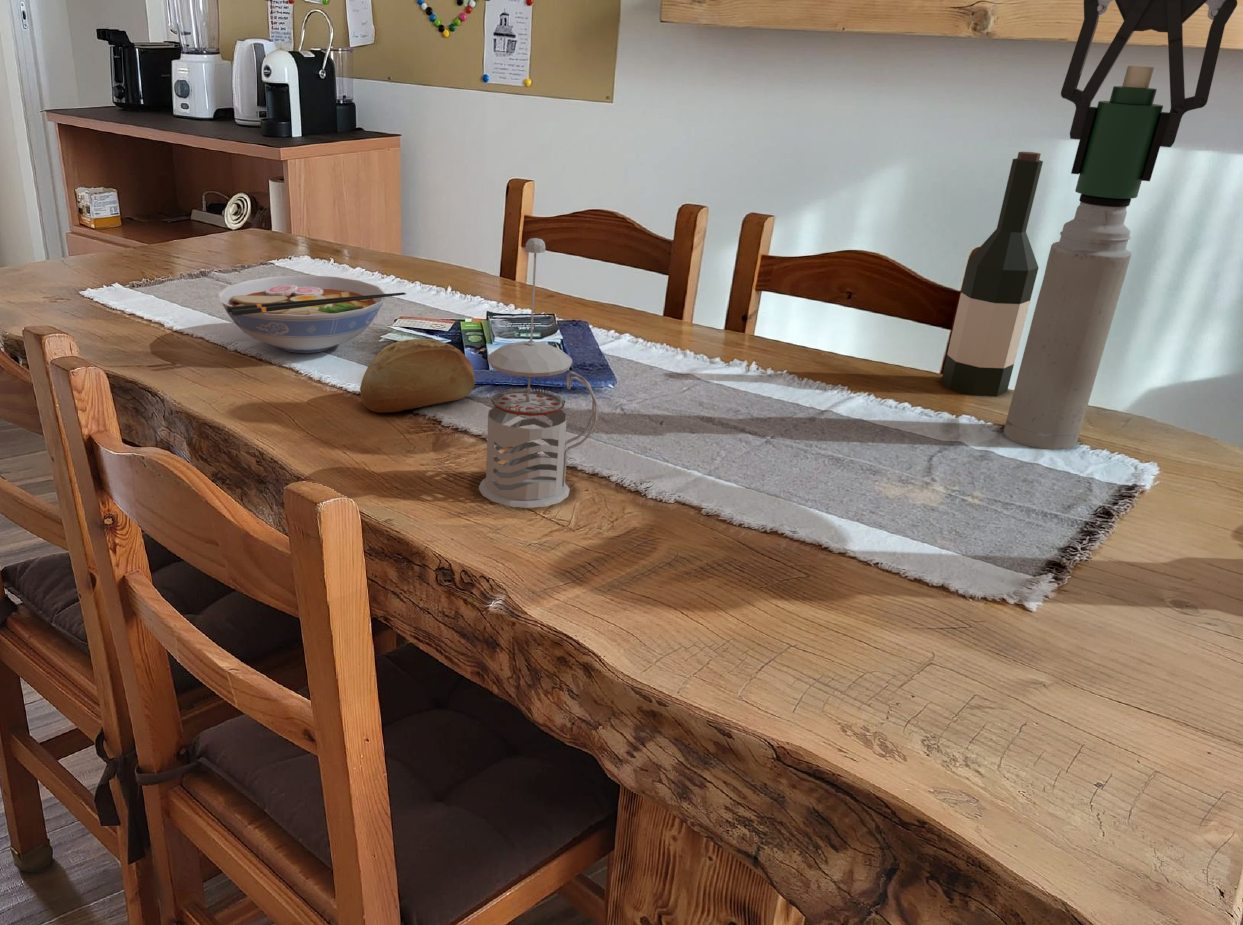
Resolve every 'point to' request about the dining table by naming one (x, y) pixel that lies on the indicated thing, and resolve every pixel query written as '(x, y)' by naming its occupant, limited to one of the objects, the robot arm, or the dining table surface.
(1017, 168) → the wine bottle
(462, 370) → the bread roll
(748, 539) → the dining table surface
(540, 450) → the french press
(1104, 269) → the thermos bottle
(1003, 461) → the dining table surface
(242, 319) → the ramen bowl
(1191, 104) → the robot arm
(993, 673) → the dining table surface
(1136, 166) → the green bottle
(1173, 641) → the dining table surface
